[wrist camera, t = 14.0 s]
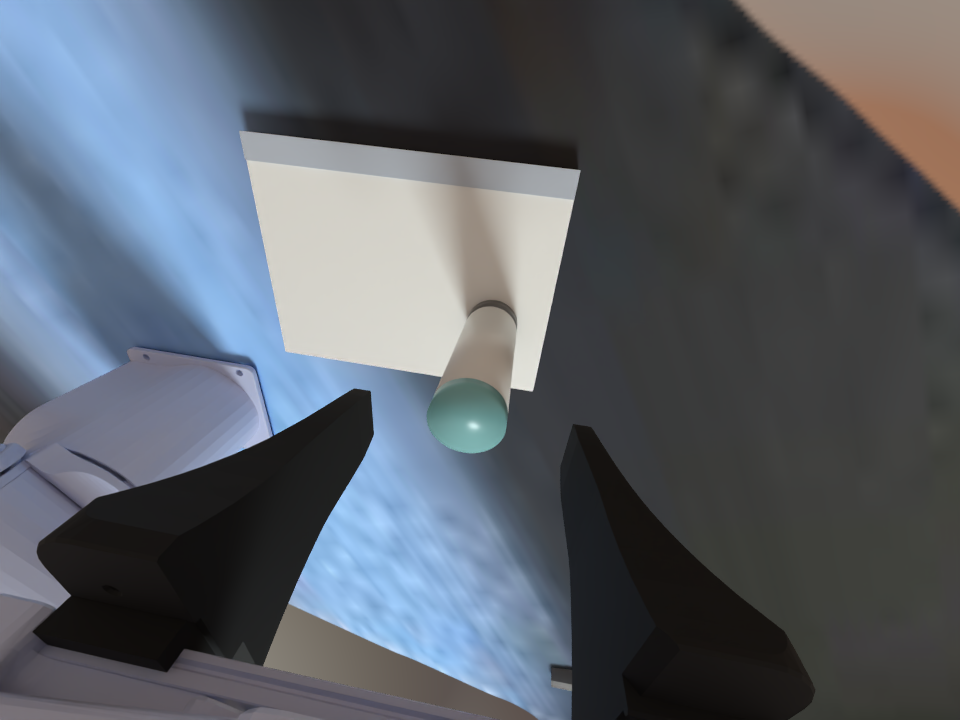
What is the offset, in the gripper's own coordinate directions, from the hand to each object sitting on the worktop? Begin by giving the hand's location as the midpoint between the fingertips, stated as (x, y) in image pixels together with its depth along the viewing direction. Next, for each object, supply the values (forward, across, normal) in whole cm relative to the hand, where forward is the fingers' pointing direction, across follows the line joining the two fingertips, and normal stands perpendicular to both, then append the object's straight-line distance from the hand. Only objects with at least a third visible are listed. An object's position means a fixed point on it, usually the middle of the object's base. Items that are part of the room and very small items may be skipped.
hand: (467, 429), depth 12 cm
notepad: (+9, +5, -2) cm, 11 cm away
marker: (+9, 0, 0) cm, 9 cm away
